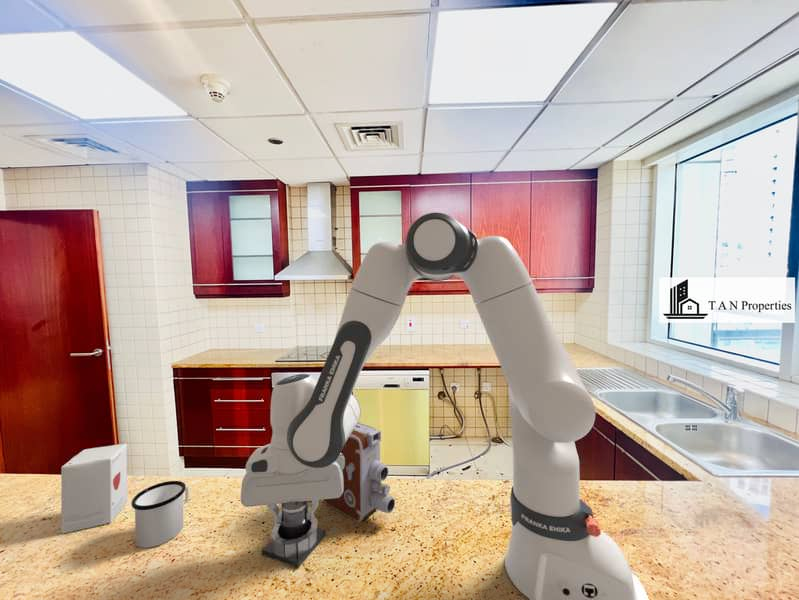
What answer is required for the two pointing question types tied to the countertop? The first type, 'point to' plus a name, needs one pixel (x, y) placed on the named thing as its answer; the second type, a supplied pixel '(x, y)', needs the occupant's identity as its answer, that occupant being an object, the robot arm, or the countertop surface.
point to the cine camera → (363, 476)
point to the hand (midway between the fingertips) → (294, 520)
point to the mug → (159, 513)
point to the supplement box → (93, 487)
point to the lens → (294, 519)
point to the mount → (293, 544)
